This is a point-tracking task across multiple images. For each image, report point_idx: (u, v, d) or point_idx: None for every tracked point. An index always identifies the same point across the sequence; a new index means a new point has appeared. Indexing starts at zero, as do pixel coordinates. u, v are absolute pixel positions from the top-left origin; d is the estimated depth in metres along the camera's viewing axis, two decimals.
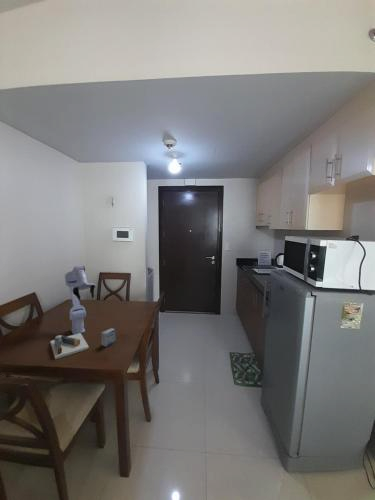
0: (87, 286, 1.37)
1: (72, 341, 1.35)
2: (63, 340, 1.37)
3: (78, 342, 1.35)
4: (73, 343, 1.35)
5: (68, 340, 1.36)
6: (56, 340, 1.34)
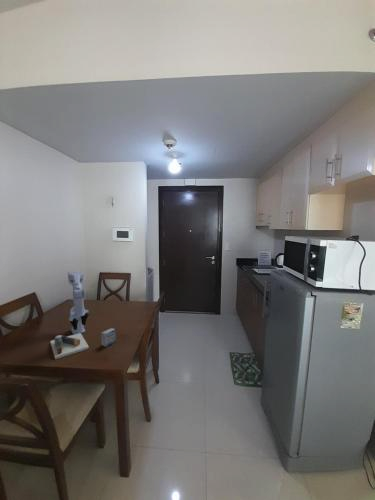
0: None
1: (72, 341, 1.35)
2: (63, 340, 1.37)
3: (78, 342, 1.35)
4: (73, 343, 1.35)
5: (68, 340, 1.36)
6: (56, 340, 1.34)
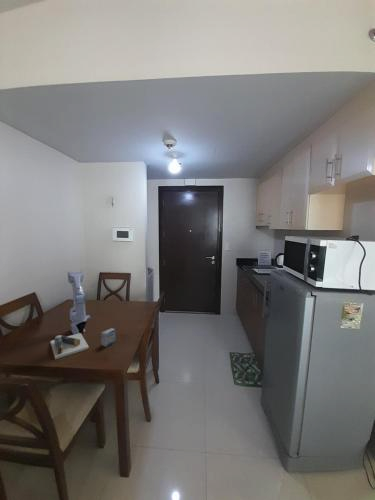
0: None
1: (72, 341, 1.35)
2: (63, 340, 1.37)
3: (78, 342, 1.35)
4: (73, 343, 1.35)
5: (68, 340, 1.36)
6: (56, 340, 1.34)
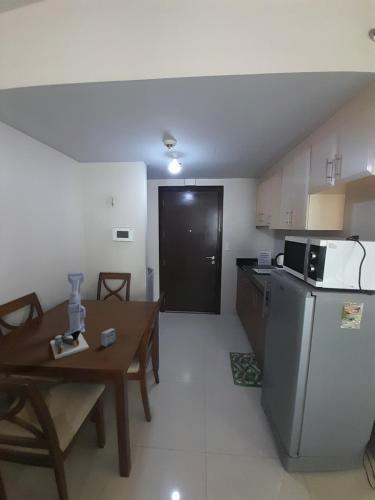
0: None
1: (71, 342, 1.34)
2: (63, 340, 1.37)
3: (77, 343, 1.34)
4: (72, 344, 1.34)
5: (67, 340, 1.36)
6: (56, 340, 1.34)
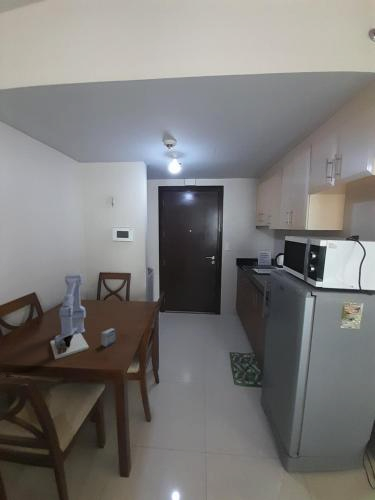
0: None
1: (61, 346, 1.30)
2: (60, 342, 1.35)
3: (64, 349, 1.27)
4: None
5: (60, 343, 1.32)
6: None
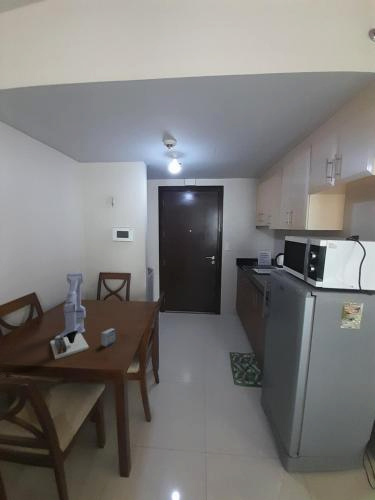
0: None
1: (61, 346, 1.30)
2: (60, 342, 1.35)
3: (63, 349, 1.27)
4: None
5: (60, 343, 1.32)
6: (56, 340, 1.34)
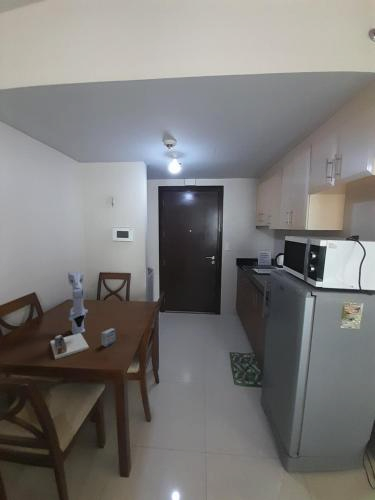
0: None
1: (61, 346, 1.30)
2: (60, 342, 1.35)
3: (63, 349, 1.27)
4: None
5: (60, 343, 1.32)
6: (56, 340, 1.34)
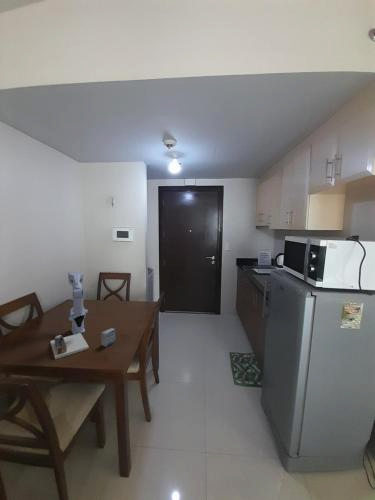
0: None
1: (61, 346, 1.30)
2: (60, 342, 1.35)
3: (63, 349, 1.27)
4: None
5: (60, 343, 1.32)
6: (56, 340, 1.34)
